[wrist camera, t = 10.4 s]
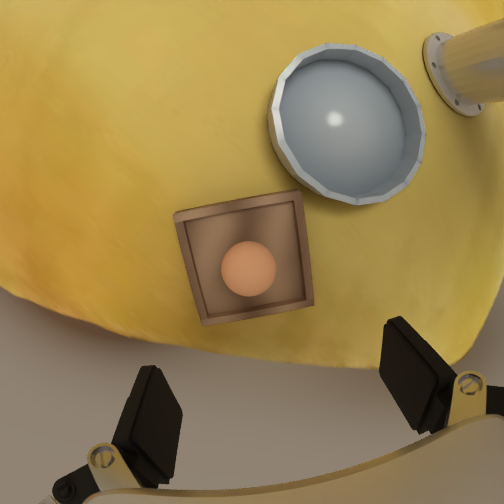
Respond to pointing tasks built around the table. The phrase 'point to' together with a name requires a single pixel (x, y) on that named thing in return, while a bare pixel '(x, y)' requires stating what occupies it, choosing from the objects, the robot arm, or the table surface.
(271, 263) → the ball
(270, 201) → the tray
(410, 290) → the table surface
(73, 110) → the table surface
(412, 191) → the table surface
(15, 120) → the table surface
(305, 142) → the bowl
